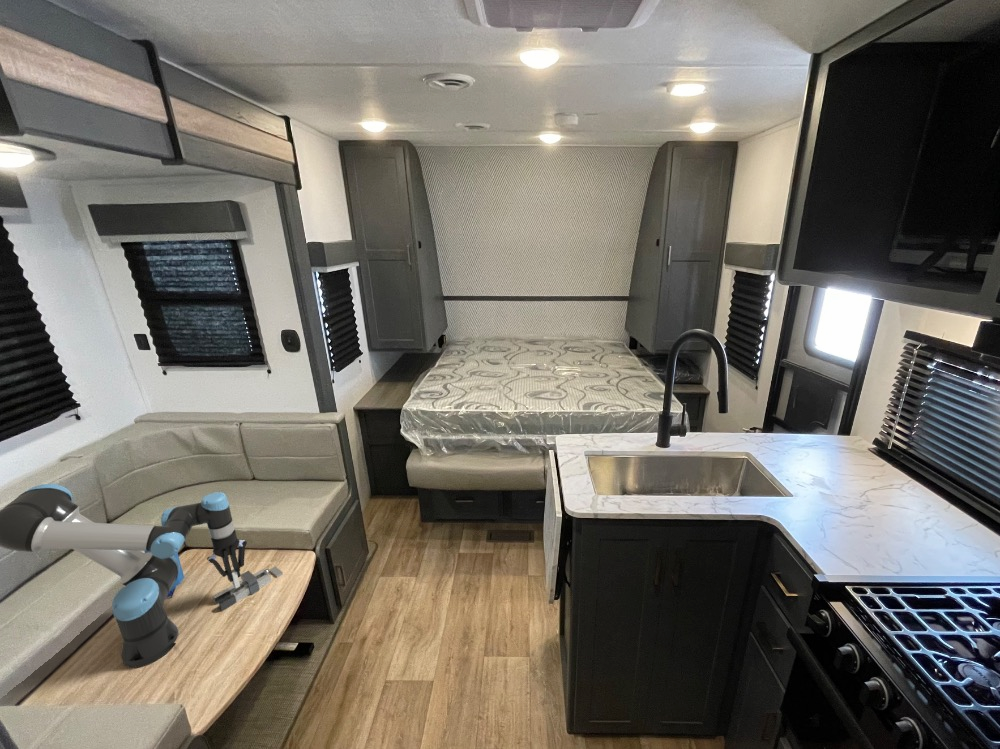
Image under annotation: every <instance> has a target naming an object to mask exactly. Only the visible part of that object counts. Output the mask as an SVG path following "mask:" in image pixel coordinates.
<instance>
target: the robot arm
mask: <svg viewBox="0 0 1000 749" xmlns="http://www.w3.org/2000/svg"><path fill="white" fill-rule="evenodd" d="M73 500H74V498H73V494H72V492H71V491H70V490H69V489H68V488H66V487H64V486H62V485H60V484H56V483H54V484H53V483H46V484H45V483H44V484H38V485H35V486H32V487H30V488H29V489H27V490H25V491H24V492H23V493H20V494H19V495H18V496H17V497H15V499H14V500H12V501H11V502H9V503H8V504H7V505H6V506H4V507H3V508H2V509H0V548H3V549H7V550H10V551H11V550H12V551H17V552H33V553H36V552H37V553H38V552H39V551H42V550H43V549H64V550H65V549H66V550H67V549H69V550H74V551H76V552H78V553H79V554H81V555H82V556H84V557H86V558H88V559H90V560H92V561H93V562H95V563H97V564H98V565H100V566H102V567H103V568H105V569H107V570H109V572H110V571H111V573H114V574H116V575H117V576H119V577H120V584H121V585H122V586H124V587H122V588H121V589H119V591H117V593H116V594H115V595H114V596H113V599H112V603H111V606H112V607H111V608H112V613H113V617H114V619H115V620H116V623H117V626H118V629H119V632H120V634H121V638H122V646H121V653H120V657H121V661H122V664H123V665H124V666H125V667H127V668H133V669H134V668H141V667H145V666H147V665H150V664H152V663H154V662H156V661H158V660H159V659H160V660H161V659H162V658H163V657H165V656H166V655H167V654H168V653H169V652H170V651H171V650H172V649H173V648H174V647H175V646H176V641H177V640H178V636H179V628H178V626H177V625H176V624H175V623H174V622H172V620H171V619H170V618H168V616H167V613H166V612H167V611H166V609H165V606H164V605H165V602H166V601H167V599H166V598H167V596H168V594H169V592H170V590H171V588H172V586H173V584H174V583H175V581H176V580H177V577H178V574H179V571H180V564H179V562H178V560H177V559H176V558H175V557H174V555H175V554H176V553H178V552H179V551H180V549H181V548H182V547H183V545H184V544H185V541H186V539H187V536H188V535H189V533H190V532H191V530H192V528H193V527H195V526H200V525H204V524H207V528H208V532H209V536H210V538H211V544H212V548H213V550H212V554H211V555H210V556H207V557H206V560H207V561H208V562H209V563H211V564H212V565H213V566H214V567H215V568H216V570H217V571H218V573H219V575H220V576H222V577H223V578H224V577H227V579H228V581H229V582H230V583H232V586H234V587H235V588H238V587H240V583H239V582H240V580H239V578H241V568H242V567H245V557H246V554H245V553H246V545H247V544H248V542H247V540H245V539H243V538H242V539H238V536H237V532H236V529H235V524H234V521H233V516H232V512H231V508H230V502H229V500H228V498H227V495H226V494H225V493H224V492H223V491H222V492H221V491H216V492H212V493H210V494H206V495H204V497H202V499H201V502H197V503H196V502H195V503H190V504H185V505H177V506H175V507H171V508H168V509H165V510H164V511H163V512H162V515H161V519H160V524H161V525H149V524H148V525H145V524H142V525H141V524H127V523H126V524H124V523H108V522H107V523H104V522H103V523H102V522H94V521H93V520H91V519H89V518H88V517H86V516H84V515H82V514H81V513H80V506H79V505H78V504H76V503H74V502H73ZM237 549H238V550H237ZM236 550H237V551H238V554H237V553H236V552H237V551H236ZM144 551H151V552H148V553H145V552H144ZM217 557H220V558H221V559H222V562H223V567H224V569H223V567H222V566H221V564H220V563H219V562H218V561H217V559H218V558H217ZM229 557H230V560H231V561H229ZM230 562H231V564H232V568H233V569H232V568H231V564H230Z"/></svg>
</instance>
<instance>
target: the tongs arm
mask: <svg viewBox="0 0 1000 749" xmlns="http://www.w3.org/2000/svg"><path fill="white" fill-rule="evenodd" d="M267 573H268V574H269V575H270V576H271V574H270V569H269V568H266V569H265V568H262V569H261V570H259V571H257V572H255V573H252V574H253V575H254V576H255V577H256V578H257V579H259V578H261V577H262V576H264V575H266V574H267ZM239 583H240V587H238V588H235V587H234V586H233V585H231V586H229V587H226V588H225V589H223V590H221V591H220V592H219V591H218V592H217V593H216V594H213V595H212V597H213V600H214V603H215V605H219V604H218V602H220V601H222V600H223V599H225V598H227V597H228V596H230V595H232V594H234V593H235V592H237V591H239V590H240V589H242V588H244V587H245V586H247V584H246V583H245V582H244V581H243V580H242V579H241V581H240V580H239Z"/></svg>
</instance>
